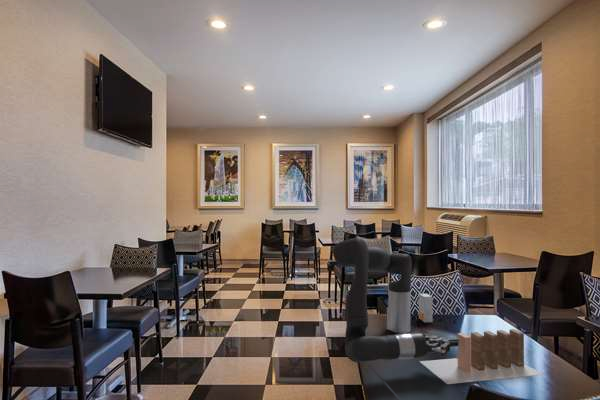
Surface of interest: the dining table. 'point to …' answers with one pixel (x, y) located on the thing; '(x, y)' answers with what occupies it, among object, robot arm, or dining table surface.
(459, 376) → the mat
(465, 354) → the loose domino
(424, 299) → the skincare box
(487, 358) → the domino
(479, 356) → the domino
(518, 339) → the domino
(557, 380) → the dining table surface
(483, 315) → the dining table surface
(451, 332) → the dining table surface
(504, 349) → the domino
